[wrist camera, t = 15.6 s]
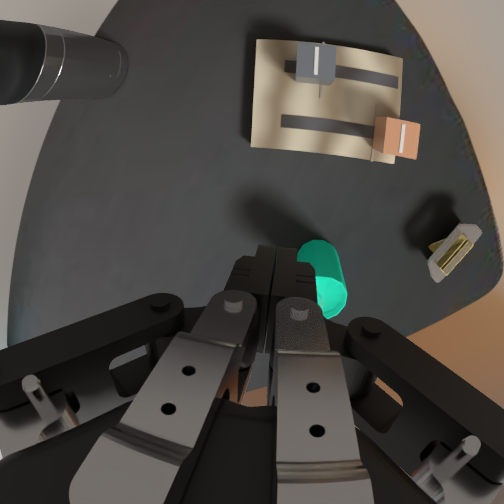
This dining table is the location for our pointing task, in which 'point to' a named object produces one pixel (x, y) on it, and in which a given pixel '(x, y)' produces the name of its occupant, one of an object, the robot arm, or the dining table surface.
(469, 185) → the dining table surface
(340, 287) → the candle
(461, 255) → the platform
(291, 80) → the panel
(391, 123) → the block
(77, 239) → the dining table surface
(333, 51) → the fader
